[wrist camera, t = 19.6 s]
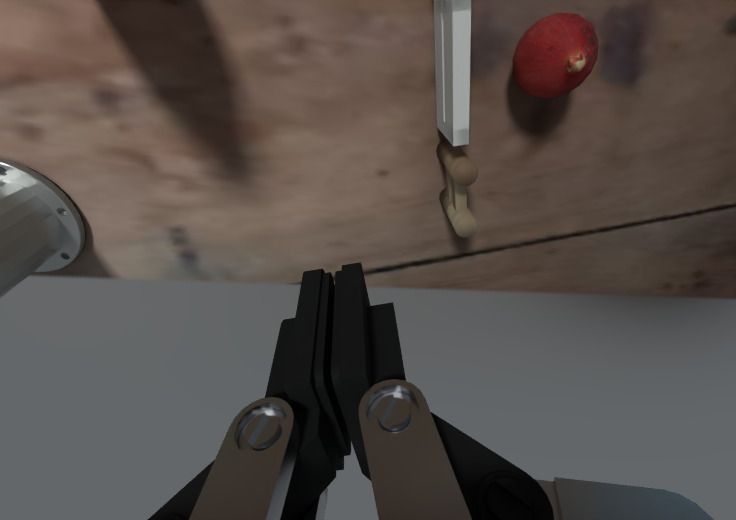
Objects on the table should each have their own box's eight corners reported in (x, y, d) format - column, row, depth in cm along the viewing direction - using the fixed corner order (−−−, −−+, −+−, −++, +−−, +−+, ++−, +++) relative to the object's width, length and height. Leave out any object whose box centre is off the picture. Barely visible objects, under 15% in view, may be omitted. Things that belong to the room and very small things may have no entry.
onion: (551, -5, 29) (611, -12, 23) (577, 59, 32) (638, 69, 25) (487, 48, 31) (525, 55, 25) (517, 104, 34) (559, 124, 27)
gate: (433, -6, 28) (452, -11, 23) (448, -8, 28) (471, -14, 23) (437, 127, 34) (453, 146, 29) (450, 125, 34) (468, 144, 29)
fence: (439, 206, 39) (455, 239, 33) (420, -107, 26) (441, -144, 20) (458, 203, 39) (477, 235, 33) (448, -113, 26) (478, -152, 20)
